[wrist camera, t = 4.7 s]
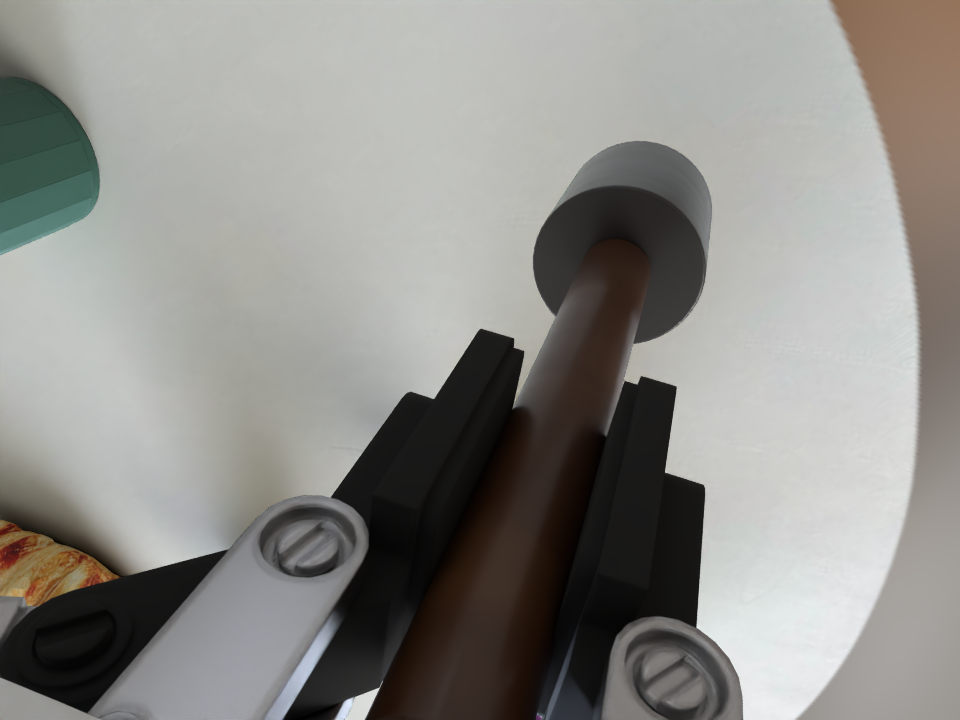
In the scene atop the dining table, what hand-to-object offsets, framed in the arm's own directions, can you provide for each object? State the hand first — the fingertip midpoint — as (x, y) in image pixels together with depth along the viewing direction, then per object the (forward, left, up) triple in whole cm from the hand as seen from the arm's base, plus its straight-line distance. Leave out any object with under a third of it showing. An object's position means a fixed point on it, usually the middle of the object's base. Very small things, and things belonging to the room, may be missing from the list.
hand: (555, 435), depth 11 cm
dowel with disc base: (0, 0, -11) cm, 11 cm away
